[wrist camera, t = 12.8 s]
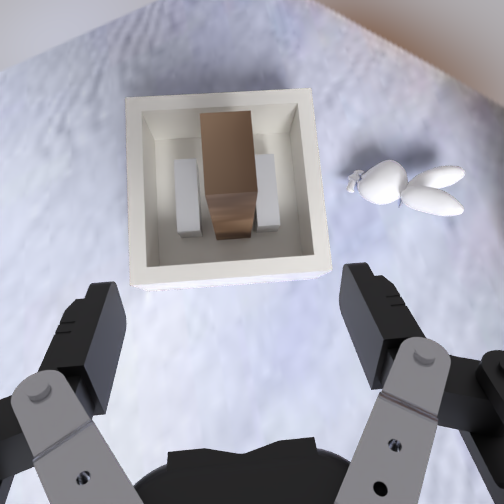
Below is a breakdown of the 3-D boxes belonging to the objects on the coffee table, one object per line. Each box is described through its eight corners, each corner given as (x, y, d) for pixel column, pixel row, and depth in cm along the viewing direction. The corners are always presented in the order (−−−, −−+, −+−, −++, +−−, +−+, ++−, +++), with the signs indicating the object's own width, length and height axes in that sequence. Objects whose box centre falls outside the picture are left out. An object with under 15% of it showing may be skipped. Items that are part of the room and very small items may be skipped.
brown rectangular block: (216, 240, 27) (204, 195, 17) (213, 186, 28) (199, 113, 18) (250, 237, 27) (257, 191, 17) (246, 184, 28) (250, 110, 18)
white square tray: (149, 291, 27) (129, 285, 22) (143, 134, 29) (125, 97, 24) (315, 278, 28) (332, 270, 23) (299, 126, 30) (311, 88, 25)
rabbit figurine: (359, 143, 30) (475, 149, 26) (358, 188, 32) (465, 199, 29) (334, 179, 26) (467, 192, 22) (335, 227, 28) (456, 245, 25)
